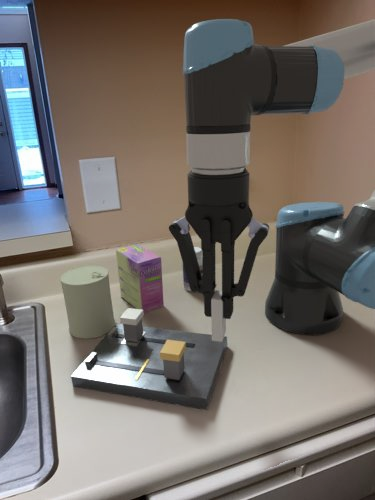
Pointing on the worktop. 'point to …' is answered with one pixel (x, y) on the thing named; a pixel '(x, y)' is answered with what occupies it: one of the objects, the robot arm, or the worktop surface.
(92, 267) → the can
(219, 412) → the worktop surface
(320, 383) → the worktop surface
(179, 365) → the fader
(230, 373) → the worktop surface
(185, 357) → the console
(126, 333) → the fader
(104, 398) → the worktop surface
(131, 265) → the box
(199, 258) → the pill bottle
